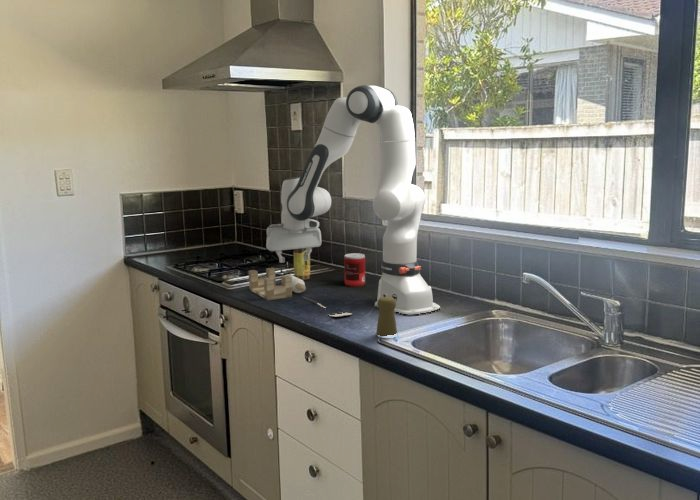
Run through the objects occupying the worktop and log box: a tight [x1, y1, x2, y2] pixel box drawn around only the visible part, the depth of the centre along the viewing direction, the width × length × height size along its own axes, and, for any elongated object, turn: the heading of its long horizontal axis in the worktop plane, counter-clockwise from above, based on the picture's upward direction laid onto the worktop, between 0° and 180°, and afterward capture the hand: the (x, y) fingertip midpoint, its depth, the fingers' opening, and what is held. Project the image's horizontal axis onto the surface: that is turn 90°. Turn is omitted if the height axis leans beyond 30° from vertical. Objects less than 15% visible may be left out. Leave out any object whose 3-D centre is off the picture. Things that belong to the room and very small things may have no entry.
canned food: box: [343, 252, 366, 288], centre depth 247 cm, size 8×8×11 cm
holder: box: [248, 267, 293, 301], centre depth 236 cm, size 18×9×7 cm, turn 29°
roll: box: [280, 273, 307, 294], centre depth 240 cm, size 16×5×5 cm, turn 29°
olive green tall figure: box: [376, 297, 398, 336], centre depth 188 cm, size 6×6×11 cm
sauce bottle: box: [293, 248, 311, 281], centre depth 256 cm, size 7×6×20 cm
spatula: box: [302, 296, 353, 318], centre depth 218 cm, size 6×29×2 cm, turn 29°
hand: (294, 261), depth 240 cm, fingers open, 8 cm apart
